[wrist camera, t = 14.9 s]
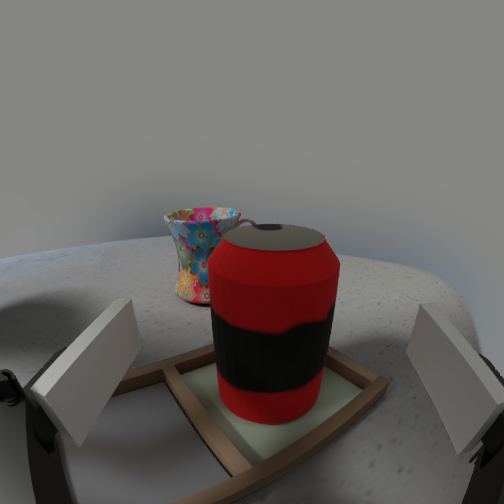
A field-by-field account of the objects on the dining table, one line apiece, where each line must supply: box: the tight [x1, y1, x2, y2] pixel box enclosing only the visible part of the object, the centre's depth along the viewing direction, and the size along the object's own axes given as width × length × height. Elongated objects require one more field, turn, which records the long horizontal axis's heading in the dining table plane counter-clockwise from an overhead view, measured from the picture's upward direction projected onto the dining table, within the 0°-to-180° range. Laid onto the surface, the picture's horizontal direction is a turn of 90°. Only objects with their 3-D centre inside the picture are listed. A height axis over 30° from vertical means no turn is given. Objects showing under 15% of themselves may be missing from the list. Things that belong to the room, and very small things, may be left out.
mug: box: [164, 207, 256, 304], centre depth 35 cm, size 12×9×11 cm
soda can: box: [207, 224, 340, 424], centre depth 17 cm, size 8×8×12 cm
